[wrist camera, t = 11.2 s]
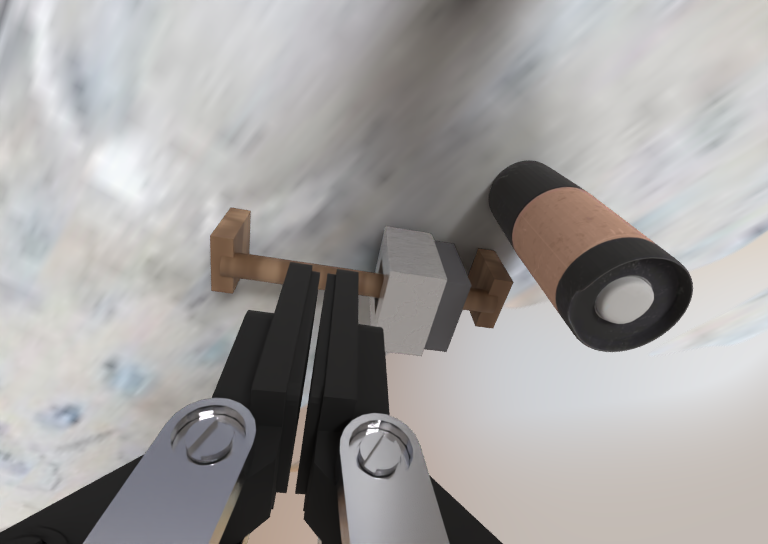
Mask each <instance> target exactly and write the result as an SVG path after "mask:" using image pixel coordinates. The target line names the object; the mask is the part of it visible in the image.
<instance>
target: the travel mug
mask: <svg viewBox="0 0 768 544" xmlns="http://www.w3.org/2000/svg"><path fill="white" fill-rule="evenodd" d="M489 205H490V208H491V211H492V213H493V215H494V217H495V218H496V220H497V222H498V224H499V225H500V227H501V228H502V230H503V232H504V233H505V235H506V237H507V238H508V240H509V242H510V243H511V245H512V247H513V248H514V250H515V252H516V253H517V255H518V256H519V258H520V259H521V260H522V262H523V263H524V265H525V266H526V267H527V269H528V270H529V272H530V273H531V275H532V276H533V277H534V279H535V280H536V282H537V283H538V284H539V286H540V287H541V289H542V290H543V291H544V293H545V294H546V296H547V297H548V299H549V300H550V301H551V303H552V304H553V306H554V307H555V308H556V310H557V311H558V313H559V314H560V315H561V317H562V318H563V320H564V321H565V323H566V324H567V325H568V327H569V328H570V329H571V331H572V332H573V334H574V335H575V336H576V338H577V339H578V340H579V341H581V342H582V343H583V344H584V345H586V346H588V347H590V348H592V349H595V350H599V351H605V352H618V351H619V352H620V351H625V350H630V349H634V348H637V347H640V346H643V345H645V344H647V343H649V342H651V341H653V340H655V339H657V338H658V337H660V336H662V335H663V334H664V333H666V332H667V331H668V330H670V329H671V328H672V327H673V326H674V325H675V324H676V323H677V322H678V321H679V320H680V318H681V317H682V316H683V314H684V313H685V311H686V310H687V308H688V306H689V303H690V301H691V298H692V292H693V283H692V279H691V276H690V274H689V272H688V271H687V269H686V268H685V267H684V266H683V265H682V264H681V263H680V262H679V261H678V260H676V259H675V258H674V257H672V256H671V255H670V254H668V253H667V252H666V251H664V250H663V249H662V248H661V247H659V246H658V245H656V244H655V243H654V242H653V241H651V240H650V239H649V238H647V237H646V236H645V235H643V234H642V233H641V232H640V231H638V230H637V229H636V228H634V227H633V226H632V225H630V224H629V223H628V222H626V221H625V220H624V219H622V218H621V217H620V216H619V215H617V214H616V213H615V212H613V211H612V210H611V209H609V208H608V207H607V206H605V205H604V204H603V203H601V202H600V201H599V200H597V199H596V198H595V197H594V196H592V195H591V194H590V193H588V192H587V191H585V190H584V189H582V188H581V187H579V186H577V185H576V184H574V183H573V182H571V181H570V180H568V179H567V178H565V177H564V176H562V175H561V174H559V173H557V172H556V171H554V170H553V169H551V168H550V167H548V166H546V165H544V164H543V163H540V162H536V161H522V162H518V163H515V164H513V165H511V166H509V167H507V168H506V169H505V170H503V171H502V172H501V173H500V174H499V175H498V176H497V178H496V179H495V181H494V182H493V184H492V186H491V189H490V193H489Z"/></svg>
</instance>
